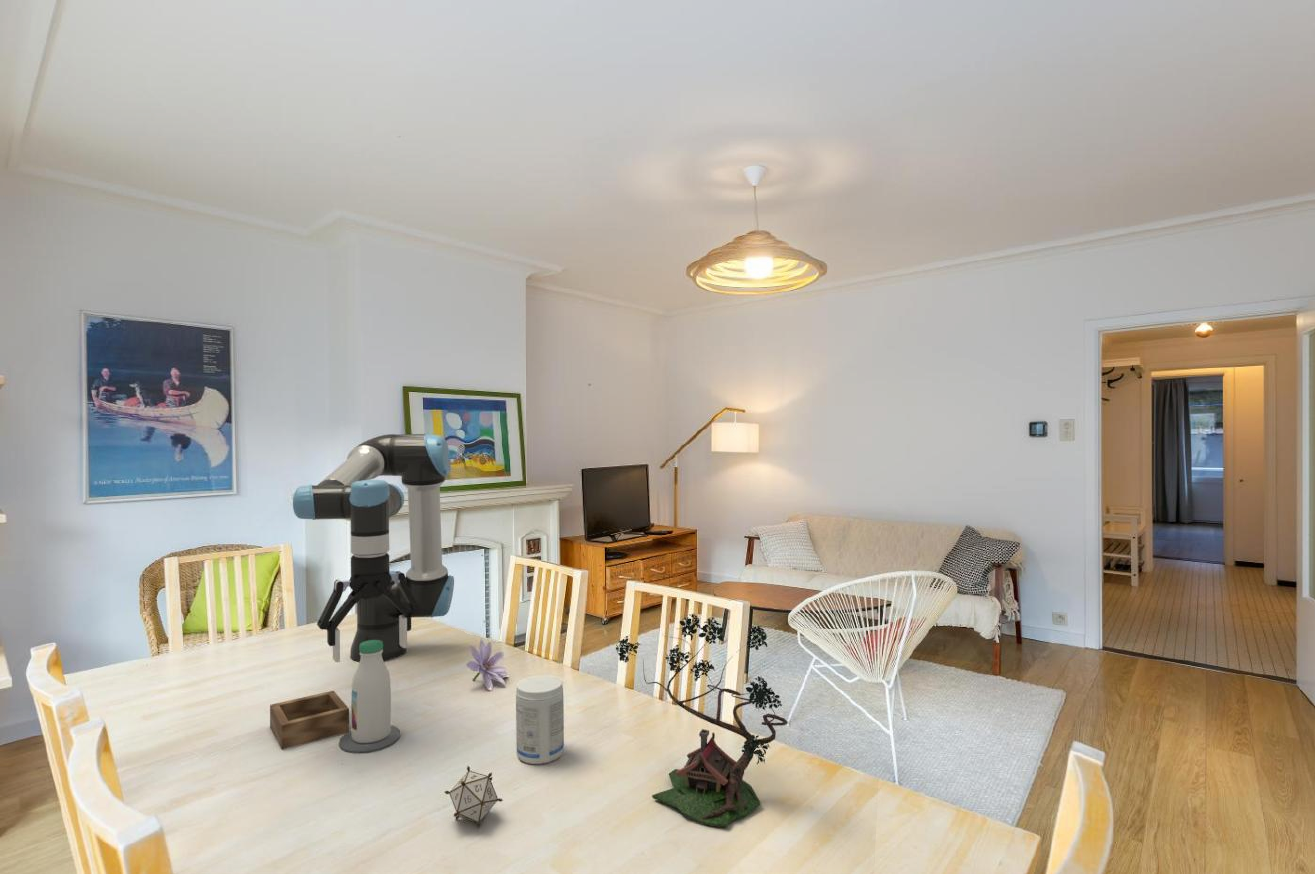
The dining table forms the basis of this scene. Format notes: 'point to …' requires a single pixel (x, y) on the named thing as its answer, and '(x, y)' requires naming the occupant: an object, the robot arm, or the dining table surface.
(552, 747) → the supplement tub
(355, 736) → the milk bottle
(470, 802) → the game die
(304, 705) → the walnut pocket
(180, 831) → the dining table surface
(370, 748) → the slate coaster
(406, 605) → the robot arm
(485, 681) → the water lily
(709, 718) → the bonsai tree
